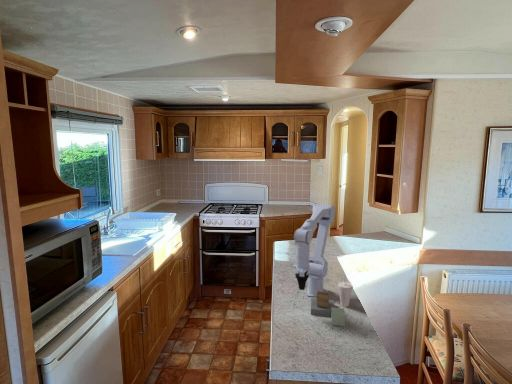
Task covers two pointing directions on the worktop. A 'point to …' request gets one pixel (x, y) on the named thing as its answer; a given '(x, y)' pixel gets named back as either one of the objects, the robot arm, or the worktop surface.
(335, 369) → the worktop surface
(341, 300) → the smoothie
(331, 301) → the charcoal slab
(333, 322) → the sage block
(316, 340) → the worktop surface
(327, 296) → the walnut cube
